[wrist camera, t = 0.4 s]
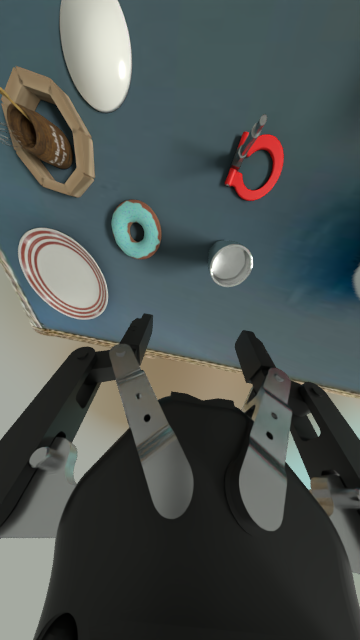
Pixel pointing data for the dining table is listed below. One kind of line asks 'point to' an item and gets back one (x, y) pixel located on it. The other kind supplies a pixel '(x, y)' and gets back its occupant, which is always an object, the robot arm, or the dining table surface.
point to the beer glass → (229, 263)
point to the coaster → (97, 51)
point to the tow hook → (248, 147)
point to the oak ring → (34, 87)
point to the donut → (146, 218)
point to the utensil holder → (38, 135)
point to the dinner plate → (63, 273)
